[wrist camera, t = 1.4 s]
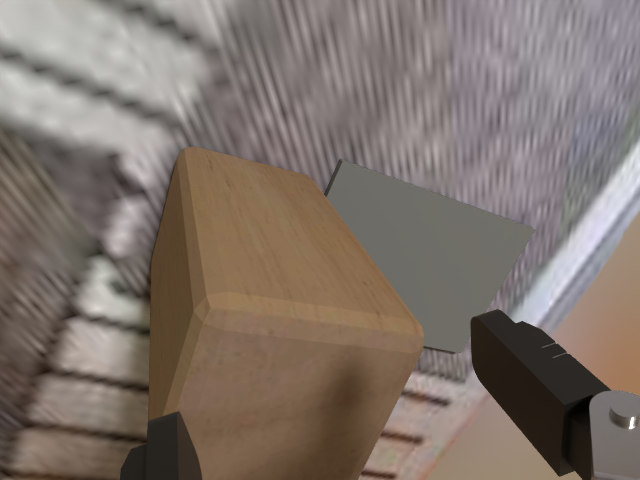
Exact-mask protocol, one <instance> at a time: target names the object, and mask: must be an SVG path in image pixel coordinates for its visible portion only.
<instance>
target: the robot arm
mask: <svg viewBox="0 0 640 480" xmlns="http://www.w3.org/2000/svg"><path fill="white" fill-rule="evenodd" d="M470 328H471V352H472V364H473V368H474V371H475V373H476V375H477V377H478V379H479V381H480V382H481V383H482V385H483V386H484V387H485V388H486V389H487V391H488V392H489V393H490V394H491V395H492V397H493V398H494V399H495V400H496V401H497V403H498V404H499V405H500V406H501V407H502V409H503V410H504V411H505V412H506V413H507V414H508V416H509V417H510V418H511V419H512V421H513V422H514V423H515V424H516V425H517V427H518V428H519V429H520V430H521V431H522V433H523V434H524V435H525V436H526V437H527V439H528V440H529V441H530V442H531V443H532V445H533V446H534V447H535V448H536V449H537V451H538V452H539V453H540V454H541V455H542V457H543V458H544V459H545V460H546V461H547V463H548V464H549V465H550V466H551V467H552V469H553V470H554V471H555V472H556V473H557V475H558V476H563V475H565V474H568V473H570V472H573V471H576V473H577V474H578V475H579V476H580V477H581V478H582V480H640V396H638V395H635V394H632V393H629V392H624V391H615V390H614V391H612V390H610V389H609V388H608V387H607V386H606V385H604V384H603V383H602V382H601V381H600V380H599V379H598V378H596V377H595V376H594V375H593V374H592V373H591V372H590V371H589V370H587V369H586V368H585V367H584V366H583V365H582V364H580V363H579V362H578V361H577V360H576V359H575V358H573V357H572V356H571V355H570V354H567V352H566V351H565V350H564V349H563V348H562V347H561V346H560V345H559V344H556V343H555V341H554V340H553V339H552V338H551V337H549V336H548V335H547V334H546V333H545V332H544V331H542V330H541V329H539V328H537V327H535V326H532V325H530V324H528V323H526V322H523V321H521V322H518V323H514V322H513V321H512V320H511V319H510V318H509V317H508V316H507V315H506V314H505V313H503V312H502V311H501V310H498V309H497V310H493V311H490V312H487V313H484V314H481V315H478V316H475V317H472V319H471V322H470ZM120 480H202V473H201V467H200V463H199V459H198V456H197V453H196V450H195V448H194V445H193V443H192V440H191V438H190V435H189V433H188V430H187V428H186V425H185V423H184V420H183V418H182V415H181V413H180V412H179V411H177V412H174V413H171V414H167V415H164V416H161V417H158V418H155V419H152V420H149V422H148V430H147V444H145V445H142V446H139V447H136V448H133V449H131V451H130V452H129V454H128V456H127V458H126V460H125V462H124V464H123V466H122V468H121V474H120Z"/></svg>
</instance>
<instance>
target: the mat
mask: <svg viewBox="0 0 640 480" xmlns="http://www.w3.org/2000/svg"><path fill="white" fill-rule="evenodd" d="M324 195H325V196H326V198H327V199H328V201H329V202H330V203H331V205H332V206H333V207H334V209H335V210H336V211H337V213H338V214H339V215H340V217H341V218H342V219H343V221H344V222H345V223H346V225H347V226H348V228H349V229H350V230H351V232H352V233H353V234H354V236H355V237H356V238H357V240H358V241H359V242H360V244H361V245H362V246H363V248H364V249H365V250H366V252H367V253H368V255H369V256H370V257H371V259H372V260H373V261H374V263H375V264H376V265H377V267H378V268H379V269H380V271H381V272H382V273H383V275H384V276H385V277H386V279H387V280H388V281H389V283H390V284H391V286H392V287H393V288H394V290H395V291H396V292H397V294H398V295H399V296H400V298H401V299H402V300H403V302H404V303H405V304H406V306H407V307H408V308H409V310H410V311H411V313H412V314H413V315H414V317H415V318H416V319H417V321H418V322H419V323H420V325H421V326H422V328H423V333H424V345H423V346H426V347H431V348H436V349H441V350H446V351H451V352H456V353H461V351H462V349H463V348H464V346H465V345H466V343H467V341H468V340H469V338H470V336H471V328H470V322H471V319H472V317H475V316H478V315H481V314H484V313H485V312H486V310H487V309H488V307H489V305H490V304H491V302H492V300H493V299H494V297H495V295H496V294H497V292H498V291H499V289H500V287H501V286H502V284H503V282H504V281H505V279H506V277H507V276H508V274H509V272H510V271H511V269H512V268H513V266H514V264H515V263H516V261H517V259H518V258H519V256H520V254H521V253H522V251H523V250H524V248H525V246H526V245H527V243H528V241H529V240H530V238H531V236H532V235H533V233H534V232H535V229H533V228H532V227H529V226H527V225H524V224H521V223H518V222H515V221H513V220H510V219H507V218H504V217H501V216H499V215H496V214H493V213H490V212H487V211H485V210H482V209H479V208H476V207H473V206H471V205H468V204H465V203H462V202H459V201H457V200H454V199H451V198H448V197H445V196H443V195H440V194H437V193H434V192H432V191H429V190H426V189H423V188H420V187H418V186H415V185H412V184H409V183H406V182H404V181H401V180H398V179H395V178H392V177H390V176H387V175H384V174H381V173H378V172H376V171H373V170H370V169H367V168H364V167H362V166H359V165H356V164H353V163H350V162H348V161H345V160H342V159H340V160H339V163H338V165H337V167H336V169H335V172H334V174H333V176H332V178H331V181H330V183H329V185H328V187H327V190H326V192H325V194H324Z"/></svg>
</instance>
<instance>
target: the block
mask: <svg viewBox="0 0 640 480" xmlns="http://www.w3.org/2000/svg"><path fill="white" fill-rule="evenodd" d="M423 345H424V333H423V328H422V326H421V325H420V323H419V322H418V321H417V319H416V318H415V317H414V315H413V314H412V313H411V311H410V310H409V308H408V307H407V306H406V304H405V303H404V302H403V300H402V299H401V298H400V296H399V295H398V294H397V292H396V291H395V290H394V288H393V287H392V286H391V284H390V283H389V281H388V280H387V279H386V277H385V276H384V275H383V273H382V272H381V271H380V269H379V268H378V267H377V265H376V264H375V263H374V261H373V260H372V259H371V257H370V256H369V255H368V253H367V252H366V250H365V249H364V248H363V246H362V245H361V244H360V242H359V241H358V240H357V238H356V237H355V236H354V234H353V233H352V232H351V230H350V229H349V228H348V226H347V225H346V223H345V222H344V221H343V219H342V218H341V217H340V215H339V214H338V213H337V211H336V210H335V209H334V207H333V206H332V205H331V203H330V202H329V201H328V199H327V198H326V196H325V195H324V194H323V192H322V191H321V190H320V188H319V187H318V186H317V184H316V183H315V182H314V181H313V180H312V179H311V178H310V177H308V176H307V175H305V174H301V173H297V172H293V171H289V170H285V169H281V168H278V167H274V166H270V165H266V164H262V163H258V162H254V161H250V160H246V159H242V158H238V157H235V156H231V155H227V154H223V153H219V152H215V151H211V150H207V149H203V148H199V147H189V148H184V149H183V150H182V151H181V153H180V154H179V155H178V157H177V160H176V164H175V168H174V172H173V176H172V180H171V184H170V188H169V192H168V196H167V200H166V204H165V208H164V212H163V216H162V220H161V224H160V228H159V232H158V236H157V240H156V244H155V248H154V252H153V256H152V260H151V305H150V357H149V408H148V422H149V420H152V419H155V418H158V417H161V416H164V415H167V414H171V413H174V412H177V411H179V412H180V413H181V415H182V418H183V420H184V423H185V425H186V428H187V430H188V433H189V435H190V438H191V440H192V443H193V445H194V448H195V450H196V453H197V456H198V459H199V463H200V467H201V473H202V480H358V478H359V476H360V474H361V472H362V470H363V468H364V466H365V464H366V462H367V460H368V458H369V456H370V454H371V452H372V450H373V448H374V446H375V444H376V442H377V440H378V438H379V436H380V434H381V432H382V430H383V428H384V427H385V425H386V423H387V421H388V419H389V417H390V415H391V413H392V411H393V409H394V407H395V405H396V403H397V401H398V399H399V397H400V395H401V393H402V391H403V389H404V387H405V385H406V383H407V381H408V379H409V377H410V375H411V373H412V371H413V369H414V367H415V365H416V363H417V361H418V359H419V357H420V355H421V353H422V351H423Z"/></svg>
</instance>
